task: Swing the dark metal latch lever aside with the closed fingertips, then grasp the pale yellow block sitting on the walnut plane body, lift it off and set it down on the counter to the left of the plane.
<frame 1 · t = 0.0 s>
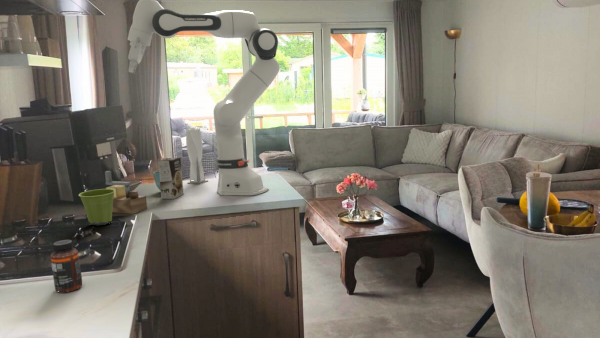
hand: (131, 72, 212), 52 cm above the worktop, tool tilted 20°, fingers open, 8 cm apart
cam lever: (118, 184, 202), point 10 cm above the worktop, hinge at 0.0°
supplement bottle: (69, 289, 124), on the worktop
skyscraper: (197, 182, 255), on the worktop
plant pot: (100, 224, 183), on the worktop
plane body: (124, 209, 203), on the worktop
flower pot: (168, 191, 236), on the worktop
pale yellow block: (116, 196, 204), point 5 cm above the worktop, touching plane body
coffee box: (172, 197, 224), on the worktop
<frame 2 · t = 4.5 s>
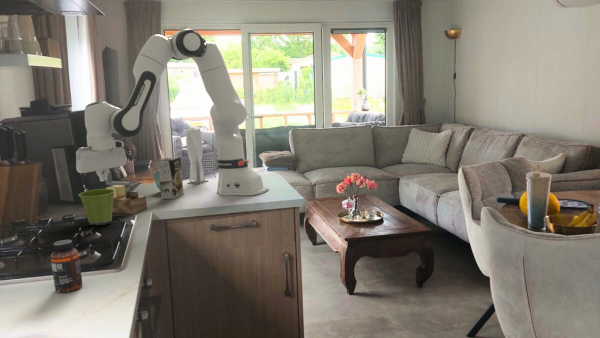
hand: (103, 181, 201), 12 cm above the worktop, tool pointing down, fingers closed
cam lever: (118, 184, 202), point 10 cm above the worktop, hinge at -0.4°, touching gripper
everything else where it was.
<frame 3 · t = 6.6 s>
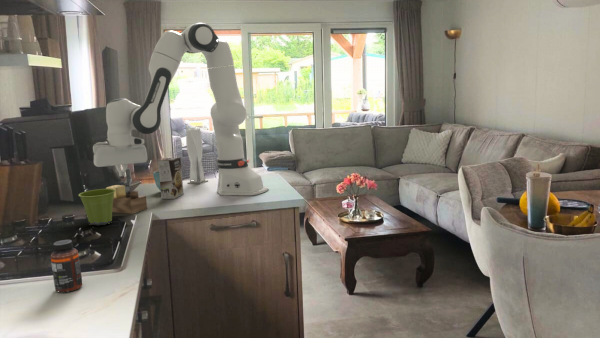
hand: (122, 176, 207), 12 cm above the worktop, tool pointing down, fingers closed
cam lever: (128, 182, 204), point 10 cm above the worktop, hinge at -50.4°, touching gripper
everything else where it was.
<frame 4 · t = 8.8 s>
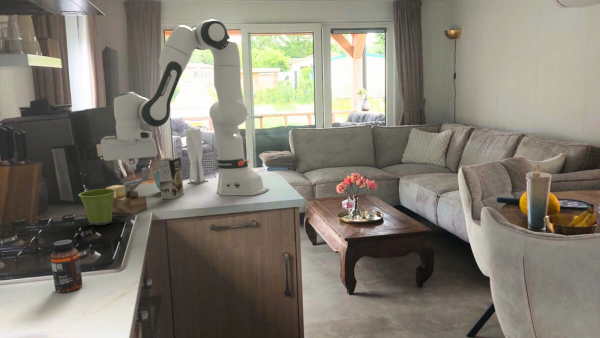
hand: (132, 170, 206), 14 cm above the worktop, tool pointing down, fingers closed
cam lever: (136, 182, 204), point 10 cm above the worktop, hinge at -94.5°
everything else where it was.
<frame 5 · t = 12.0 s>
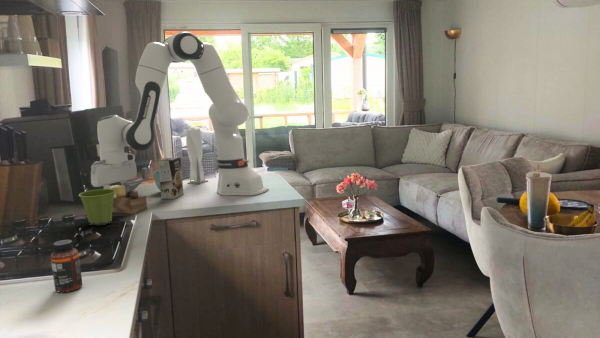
hand: (116, 193, 203), 6 cm above the worktop, tool pointing down, fingers closed on pale yellow block, 5 cm apart
pale yellow block: (116, 196, 204), point 5 cm above the worktop, touching gripper, plane body
everything else where it was.
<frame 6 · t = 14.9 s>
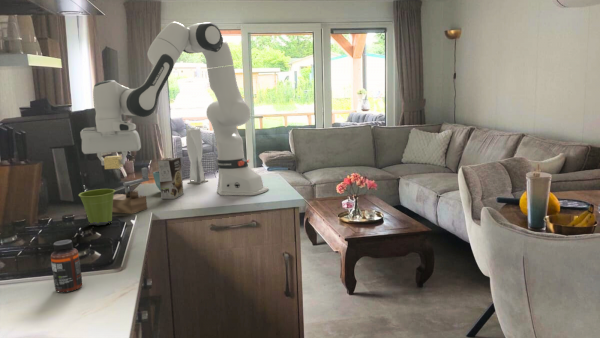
hand: (113, 164, 191), 19 cm above the worktop, tool pointing down, fingers closed on pale yellow block, 5 cm apart
pale yellow block: (113, 167, 191), point 18 cm above the worktop, touching gripper
everything else where it was.
when the fingers open (4 cm above the worktop, at t = 17.9 s): pale yellow block drops 3 cm, on the worktop.
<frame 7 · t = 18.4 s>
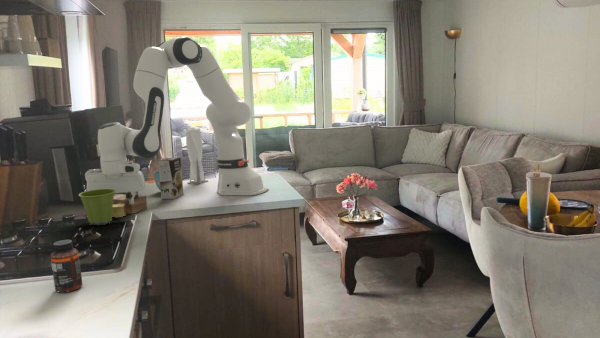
hand: (118, 204, 194), 4 cm above the worktop, tool pointing down, fingers open, 8 cm apart
pale yellow block: (118, 216, 194), on the worktop
everything else where it was.
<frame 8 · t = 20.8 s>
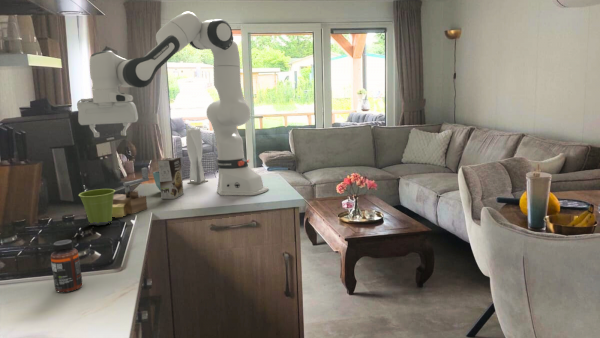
hand: (110, 136, 190), 29 cm above the worktop, tool pointing down, fingers open, 8 cm apart
nothing on the worktop moved.
at the end: pale yellow block inside the target area (0.1 cm from its centre), on the worktop; cam lever at -95° (first picture: +0°); pale yellow block tilted 0° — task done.
